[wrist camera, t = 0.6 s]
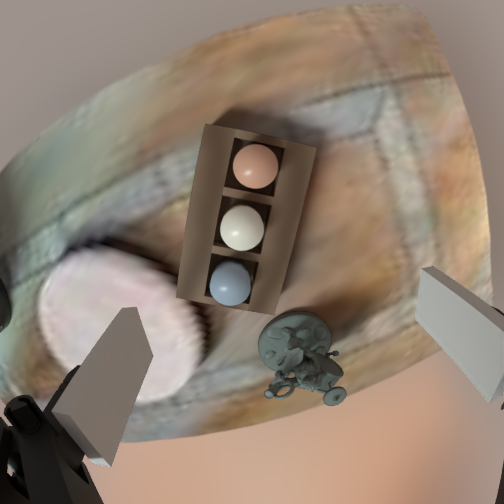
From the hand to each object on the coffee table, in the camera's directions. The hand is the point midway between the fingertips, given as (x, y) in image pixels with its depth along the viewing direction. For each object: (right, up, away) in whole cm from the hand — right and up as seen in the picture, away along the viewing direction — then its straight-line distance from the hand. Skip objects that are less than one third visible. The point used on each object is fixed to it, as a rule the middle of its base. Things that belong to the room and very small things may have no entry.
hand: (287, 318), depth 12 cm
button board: (-3, +7, +22) cm, 23 cm away
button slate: (-4, 0, +22) cm, 22 cm away
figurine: (+5, -10, +28) cm, 30 cm away
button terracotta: (-1, +12, +18) cm, 22 cm away
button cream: (-3, +6, +20) cm, 21 cm away
